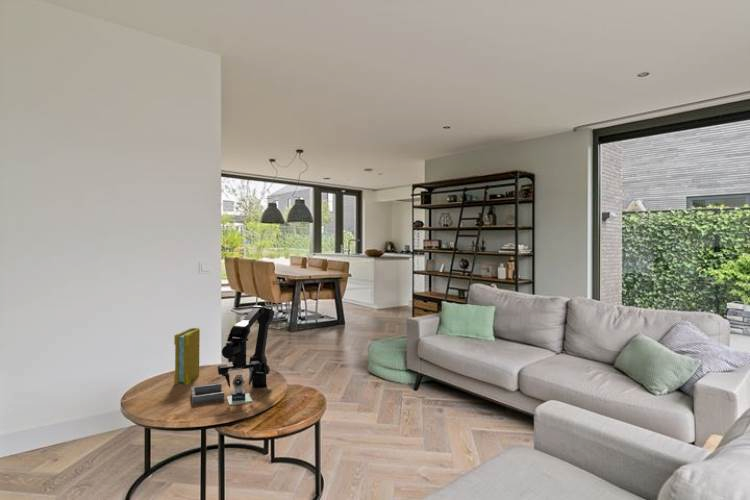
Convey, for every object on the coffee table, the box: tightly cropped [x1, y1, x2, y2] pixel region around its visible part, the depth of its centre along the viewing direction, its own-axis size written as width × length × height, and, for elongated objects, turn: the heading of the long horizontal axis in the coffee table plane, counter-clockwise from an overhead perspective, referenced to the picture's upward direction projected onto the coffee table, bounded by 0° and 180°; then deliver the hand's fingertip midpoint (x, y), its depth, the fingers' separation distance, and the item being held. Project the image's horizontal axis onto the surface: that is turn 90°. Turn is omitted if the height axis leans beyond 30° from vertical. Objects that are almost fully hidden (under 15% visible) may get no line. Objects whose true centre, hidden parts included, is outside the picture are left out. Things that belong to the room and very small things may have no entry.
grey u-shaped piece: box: [190, 382, 225, 406], centre depth 191 cm, size 13×13×4 cm
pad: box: [226, 392, 253, 406], centre depth 188 cm, size 10×10×1 cm
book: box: [173, 327, 201, 385], centre depth 215 cm, size 17×7×25 cm, turn 179°
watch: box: [231, 374, 246, 401], centre depth 188 cm, size 6×8×11 cm
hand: (239, 385), depth 188 cm, fingers open, 9 cm apart
